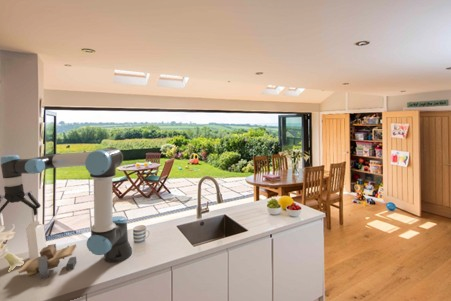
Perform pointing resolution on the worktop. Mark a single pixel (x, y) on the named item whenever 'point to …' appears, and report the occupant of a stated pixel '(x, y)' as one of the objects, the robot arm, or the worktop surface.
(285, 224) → the worktop surface
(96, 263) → the worktop surface
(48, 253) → the block
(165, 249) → the worktop surface
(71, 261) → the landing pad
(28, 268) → the tan piece
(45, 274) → the fulcrum
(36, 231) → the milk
